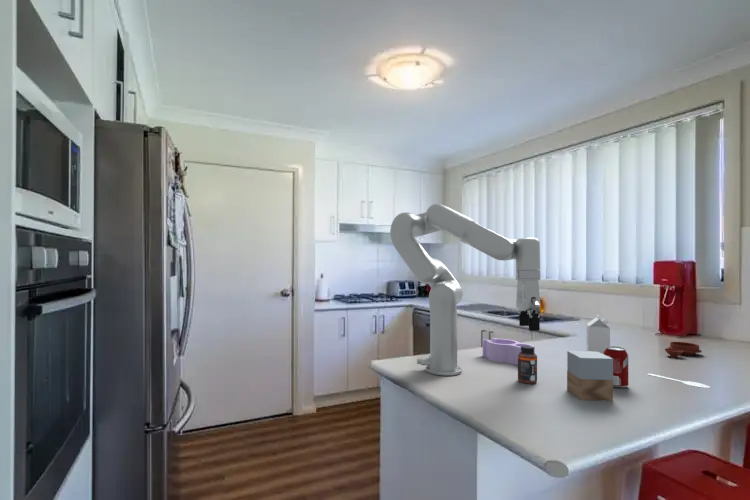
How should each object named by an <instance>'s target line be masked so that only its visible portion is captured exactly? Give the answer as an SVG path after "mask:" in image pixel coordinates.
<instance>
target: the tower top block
mask: <svg viewBox="0 0 750 500" xmlns="http://www.w3.org/2000/svg"><path fill="white" fill-rule="evenodd" d="M566 352H567V353H566V354H567V359H566V360H567V363H566V364H567V365H566V366H567V368H566V369H567V370H566V372H567V371H569V372H570V373H572V374H573V375H575V376H577V377H578V378H580V379H595V380H613V358H610V357H608V356H606V355H604V354H602V353H600V352H593V351H587V350H585V351H584V350H583V351H582V350H579V351H578V350H567V351H566Z"/></svg>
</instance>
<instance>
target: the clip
mask: <svg viewBox="0 0 750 500" xmlns="http://www.w3.org/2000/svg"><path fill="white" fill-rule="evenodd" d="M521 346H532V347H534V353H535V345H533V344H530V343H525V342H523V343H522V342H519V341H517V340H514V339H509V338H496V337H492V338H491V339H482V357H484V358H487V360H491V361H493V362H499V363H508V364H509V363H510V364H513V365H517V366H518V354H519V353H520V352H521ZM535 354H536V353H535Z"/></svg>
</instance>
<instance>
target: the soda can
mask: <svg viewBox="0 0 750 500" xmlns="http://www.w3.org/2000/svg"><path fill="white" fill-rule="evenodd" d="M604 355H606V356H608V357H610V358H613V389H615V388H616V389H625V388H628V387H629V354H628V352H627V348H625V347H623V346H616V345H615V346H614V345H610V346H606V350H605V351H604Z"/></svg>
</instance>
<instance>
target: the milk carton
mask: <svg viewBox="0 0 750 500" xmlns="http://www.w3.org/2000/svg"><path fill="white" fill-rule="evenodd" d="M608 323H609V321H607V320H606V319H605V318H604V317H602V319H600V315H599V314H596V317H594V318H593V319H592V320H590V321H589V322H587V323H586V351H593V352H600V353H602V354H604V351H605V350H606V346H611V328H610V326H608V325H607V324H608Z"/></svg>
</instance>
